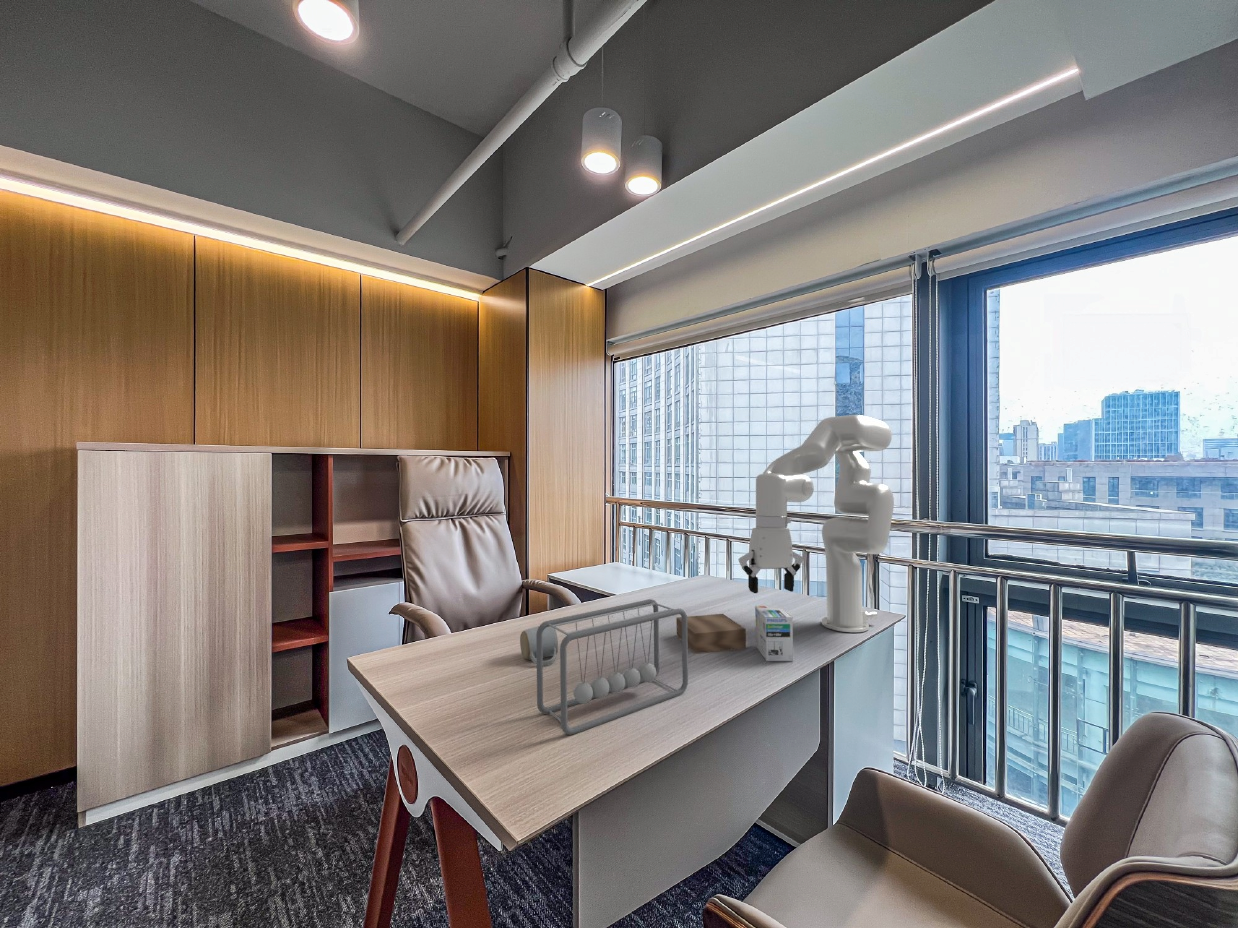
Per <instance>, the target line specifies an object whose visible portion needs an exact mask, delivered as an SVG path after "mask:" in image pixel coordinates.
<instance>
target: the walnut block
mask: <svg viewBox="0 0 1238 928" xmlns="http://www.w3.org/2000/svg"><path fill="white" fill-rule="evenodd" d="M675 618H676V622H675V623H676V625H675V626H676V637H678V639H680V640H681V641H682V617H681V616H678V617H675ZM746 629H747V628H745V627H744V626H743V625H741V624H740V623H738V622H736V621H735V620H733V619H732V618H730V617H728V616H727V615H726V614H724V613H715V614H703V615H692V616H691V615H690V616H687V642H688V648H689V649H690V650H691V651H692V652H693V653H694V654H701V653H712V652H723V651H731V650H732V651H733V650H744V649H747V637H746V636H747V630H746Z"/></svg>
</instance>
